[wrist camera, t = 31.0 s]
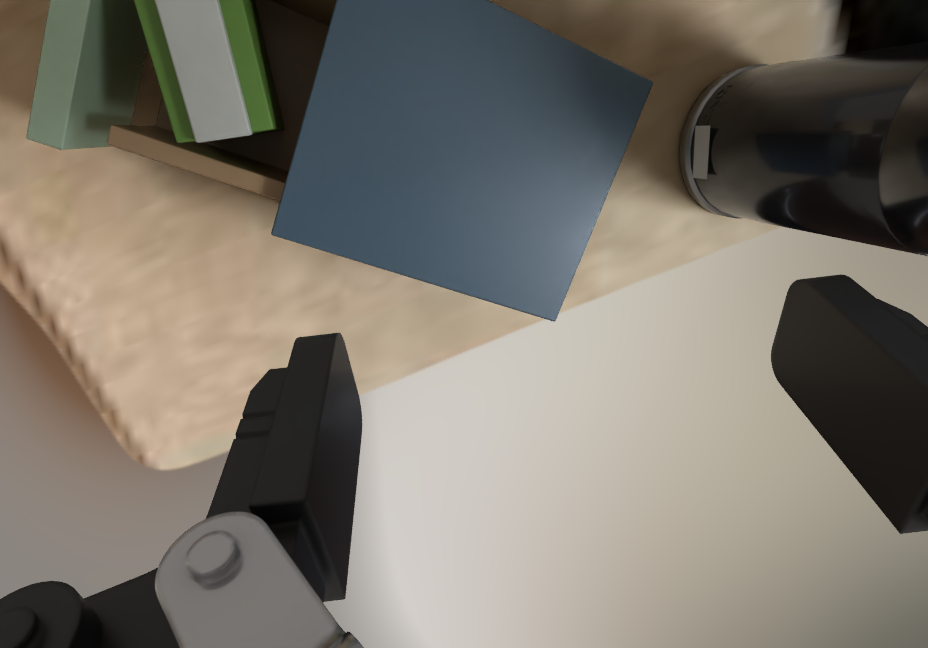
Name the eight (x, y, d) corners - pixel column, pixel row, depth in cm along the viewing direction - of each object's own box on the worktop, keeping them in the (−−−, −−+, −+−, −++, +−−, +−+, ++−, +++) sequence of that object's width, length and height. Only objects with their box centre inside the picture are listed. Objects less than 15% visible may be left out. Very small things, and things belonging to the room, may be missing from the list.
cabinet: (284, 206, 32) (270, 234, 23) (344, -7, 30) (354, -67, 21) (498, 276, 37) (555, 322, 28) (567, 94, 34) (654, 81, 25)
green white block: (253, -5, 27) (226, -60, 19) (285, 132, 29) (273, 131, 21) (174, 3, 26) (113, -51, 19) (212, 142, 29) (172, 146, 21)
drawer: (73, 128, 28) (-13, 126, 21) (116, -101, 26) (37, -191, 19) (345, 217, 32) (352, 242, 25) (403, 29, 30) (429, -3, 23)
